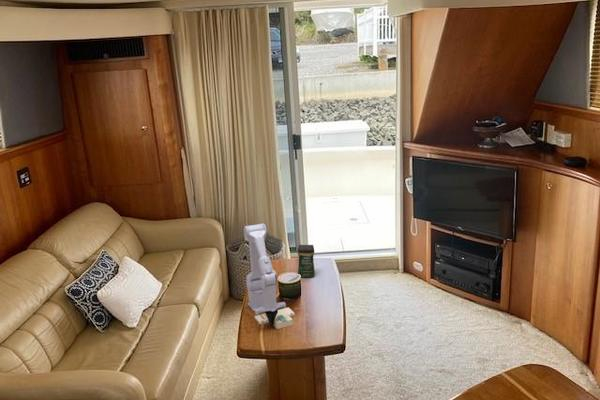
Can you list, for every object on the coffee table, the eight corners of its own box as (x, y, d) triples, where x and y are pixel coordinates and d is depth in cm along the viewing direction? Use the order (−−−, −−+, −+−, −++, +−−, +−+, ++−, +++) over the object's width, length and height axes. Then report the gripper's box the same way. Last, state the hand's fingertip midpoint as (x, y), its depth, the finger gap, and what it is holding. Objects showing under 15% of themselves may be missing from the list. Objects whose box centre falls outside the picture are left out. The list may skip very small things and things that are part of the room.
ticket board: (254, 318, 236) (254, 315, 235) (288, 309, 243) (288, 306, 243) (260, 324, 229) (260, 322, 229) (294, 315, 237) (294, 312, 237)
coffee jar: (297, 278, 278) (296, 247, 273) (298, 272, 285) (297, 242, 280) (314, 278, 277) (313, 247, 272) (315, 272, 284) (314, 242, 280)
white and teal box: (271, 323, 230) (271, 317, 229) (287, 319, 234) (287, 312, 233) (277, 329, 225) (276, 322, 224) (292, 325, 229) (292, 318, 228)
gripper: (258, 304, 217) (260, 332, 221) (288, 297, 223) (289, 324, 227) (252, 298, 223) (254, 325, 227) (281, 291, 230) (283, 317, 233)
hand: (271, 324), depth 227 cm, fingers closed
